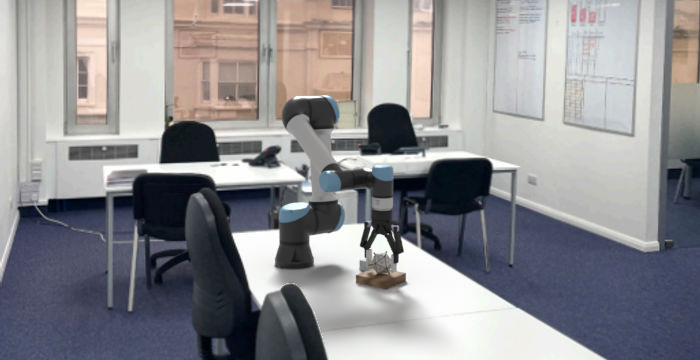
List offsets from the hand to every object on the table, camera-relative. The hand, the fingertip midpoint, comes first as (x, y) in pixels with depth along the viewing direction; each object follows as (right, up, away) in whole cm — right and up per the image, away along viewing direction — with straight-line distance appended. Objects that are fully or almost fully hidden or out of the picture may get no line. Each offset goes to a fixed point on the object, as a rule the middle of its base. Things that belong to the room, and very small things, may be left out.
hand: (381, 269), depth 292 cm
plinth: (0, -5, +1) cm, 5 cm away
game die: (0, -2, 0) cm, 2 cm away
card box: (-2, -2, +18) cm, 18 cm away
